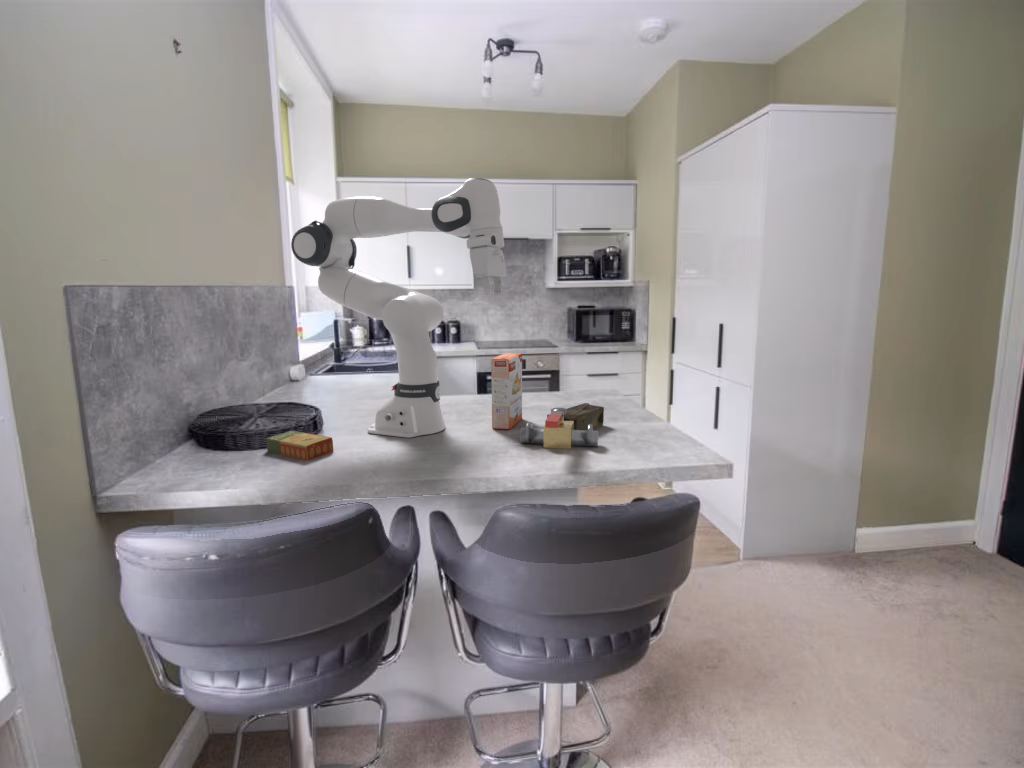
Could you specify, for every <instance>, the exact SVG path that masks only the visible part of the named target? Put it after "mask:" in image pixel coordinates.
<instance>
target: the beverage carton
mask: <svg viewBox="0 0 1024 768" xmlns="http://www.w3.org/2000/svg"><path fill="white" fill-rule="evenodd" d="M566 409H567V415H566V416H564V421H574V430H587V428H588V424H591V425H593V429H594V430H596V429H598V428H600V427H602V426H601V425H604V418H605V417H604V416H605V415H604V411H605V408H604V406H601V405H600V406H599V405H595V404H590V403H588V402H584V403H581V404H577V405H573V406H571V407H567V408H566ZM546 415H547V416H546V419H547V418H548V416H549V414H546ZM599 426H600V427H599ZM597 427H598V428H597ZM595 428H596V429H595Z"/></svg>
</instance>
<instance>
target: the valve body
mask: <svg viewBox="0 0 1024 768" xmlns="http://www.w3.org/2000/svg"><path fill="white" fill-rule="evenodd" d="M542 427H543V428H539V427H536V428H535V427H533V422H532V421H526V424H525V427H521V428H520V432H519V442H520V443H522V444H537V445H538V444H540V445H543V448H545V449H560V450H562V449H564V450H571V449H572V447H573V446H578V447H598V446H599V430H593V425H591V424H588V428H587V430H574V421H564V416H563V418H562V421H561V423H560V425H559V427H558V428H545V424H544V425H543V426H542Z"/></svg>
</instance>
